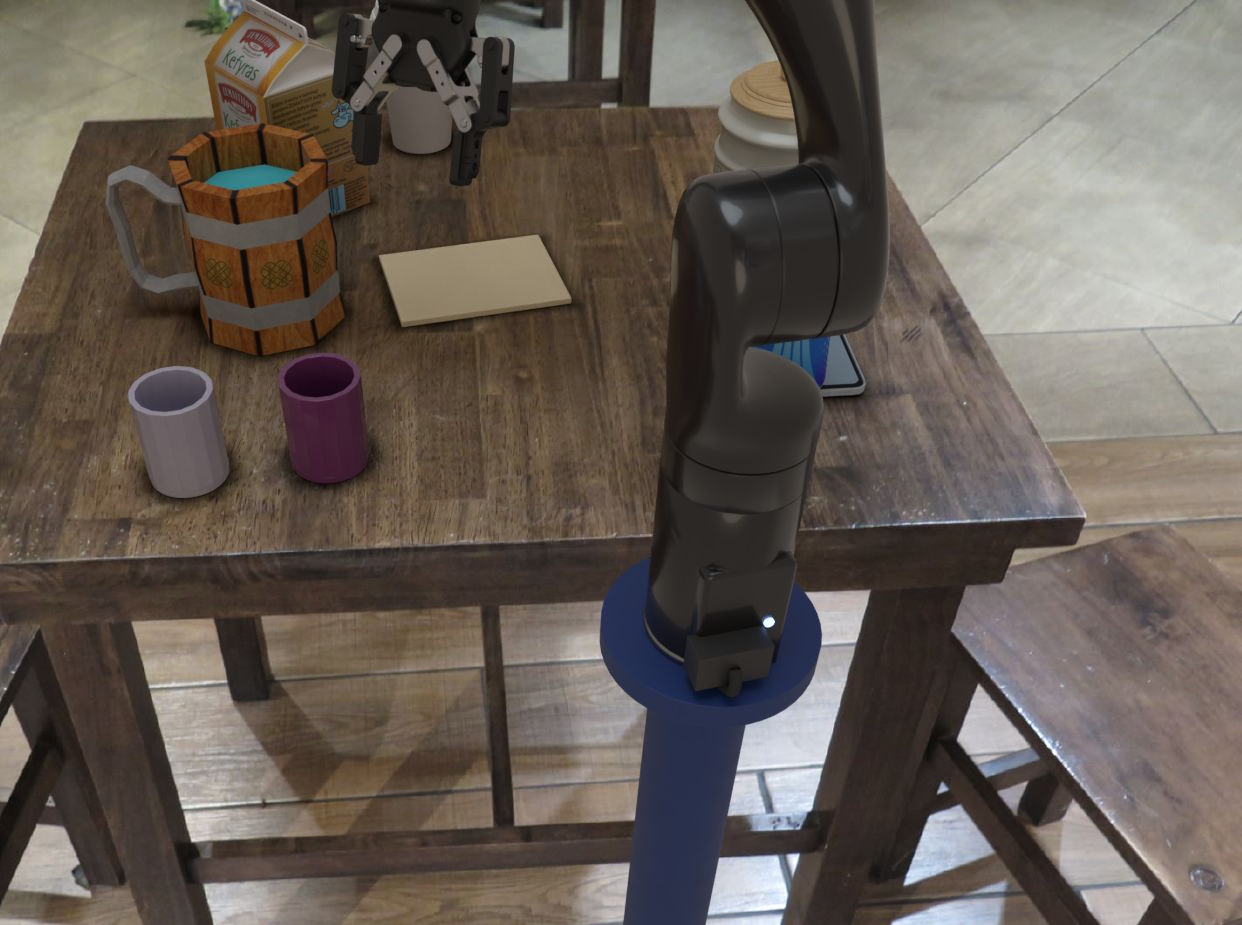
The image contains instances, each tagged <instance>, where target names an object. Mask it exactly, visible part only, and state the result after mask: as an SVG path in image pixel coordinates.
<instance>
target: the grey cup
mask: <svg viewBox="0 0 1242 925" xmlns="http://www.w3.org/2000/svg"><path fill="white" fill-rule="evenodd" d="M127 400H128V405H129V408H130V412H131V415H132V419H133V422H134V427H135V431H136V434H137V438H138V442H139V445H140V449H141V453H142V457H143V460H144V464H145V468H146V471H147V475H148V478H149V480H150V483H151V485H152V487H153V488H154V489H155V490H156V491H157V492H159V493H160V494H161V495H164V496H167V497H171V498H175V499H176V498H177V499H190V498H197V497H200V496H203V495H206V494H209V493H211V492H213V491H215V490H216V489H218V488H219V487H221V486H222V484H224V483H225V481H226V480H227V478H228V477H229V474H230V470H231V467H230V461H229V455H228V449H227V446H226V440H225V435H224V430H223V426H222V421H221V417H220V411H219V407H218V406H219V405H218V402H217V396H216V393H215V388H214V384H213V379H212V378H211V377H210V376H209V375H208V374H207V373H206V372H205V371H203V370H200V369H198V368H195V367H192V366H183V365H173V366H166V367H160V368H157V369H153V370H151V371H149V372H146V373H144V374H143V375H141V376H140V377H139V378H137V379H136V380H135V381H134V382H133V383H132V385H131V386H130V388H129V390H128V391H127Z"/></svg>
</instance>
